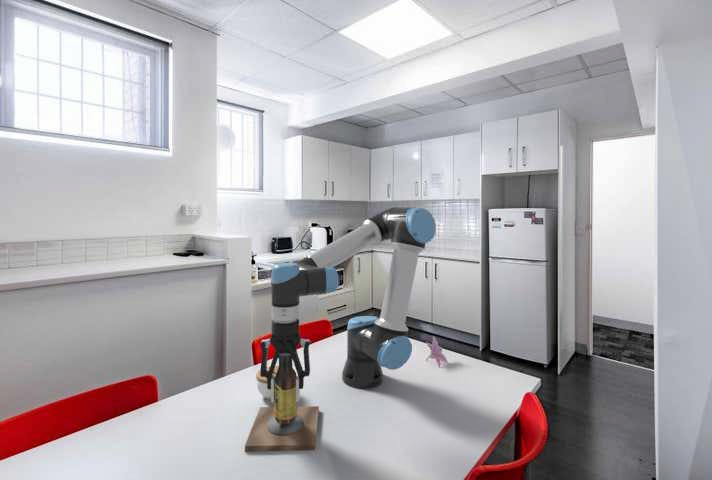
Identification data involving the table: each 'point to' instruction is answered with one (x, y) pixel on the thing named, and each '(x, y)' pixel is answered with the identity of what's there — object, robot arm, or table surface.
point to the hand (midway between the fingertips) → (285, 399)
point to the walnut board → (284, 431)
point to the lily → (436, 352)
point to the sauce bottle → (285, 390)
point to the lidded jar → (264, 383)
